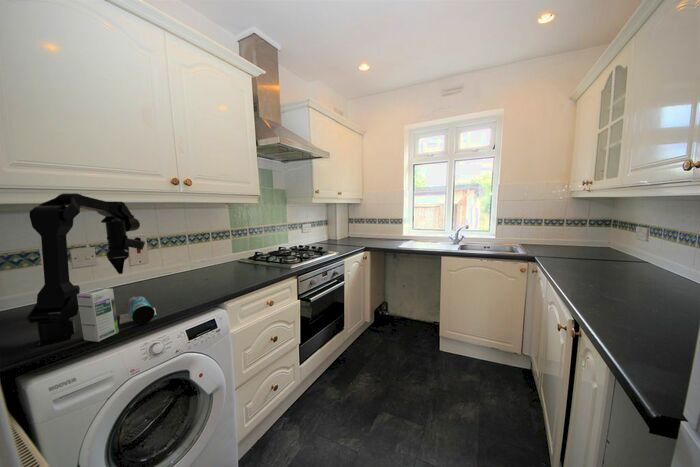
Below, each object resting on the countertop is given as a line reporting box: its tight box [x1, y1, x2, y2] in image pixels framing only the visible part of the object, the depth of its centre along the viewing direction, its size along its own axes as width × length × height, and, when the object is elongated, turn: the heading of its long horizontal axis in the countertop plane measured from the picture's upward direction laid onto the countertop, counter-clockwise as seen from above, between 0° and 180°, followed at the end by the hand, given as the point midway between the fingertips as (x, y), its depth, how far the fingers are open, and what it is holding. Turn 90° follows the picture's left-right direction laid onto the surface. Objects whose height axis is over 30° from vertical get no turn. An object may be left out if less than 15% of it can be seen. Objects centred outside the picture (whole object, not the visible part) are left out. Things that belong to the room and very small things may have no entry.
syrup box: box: [77, 287, 120, 343], centre depth 78 cm, size 6×6×14 cm
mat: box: [119, 307, 158, 325], centre depth 93 cm, size 10×8×1 cm
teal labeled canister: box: [125, 295, 155, 325], centre depth 91 cm, size 6×6×15 cm
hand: (121, 271), depth 105 cm, fingers open, 9 cm apart
